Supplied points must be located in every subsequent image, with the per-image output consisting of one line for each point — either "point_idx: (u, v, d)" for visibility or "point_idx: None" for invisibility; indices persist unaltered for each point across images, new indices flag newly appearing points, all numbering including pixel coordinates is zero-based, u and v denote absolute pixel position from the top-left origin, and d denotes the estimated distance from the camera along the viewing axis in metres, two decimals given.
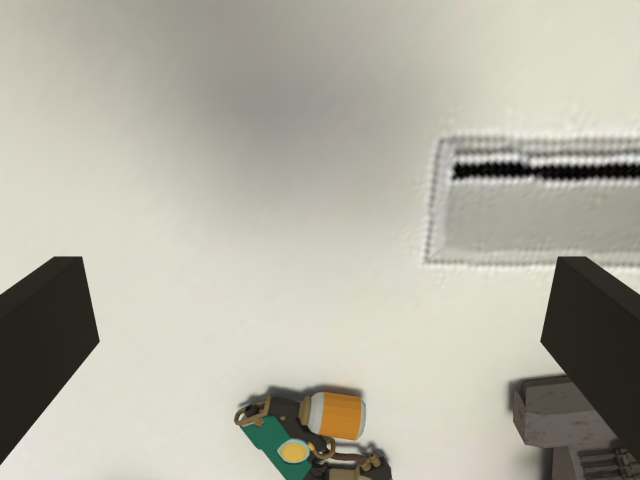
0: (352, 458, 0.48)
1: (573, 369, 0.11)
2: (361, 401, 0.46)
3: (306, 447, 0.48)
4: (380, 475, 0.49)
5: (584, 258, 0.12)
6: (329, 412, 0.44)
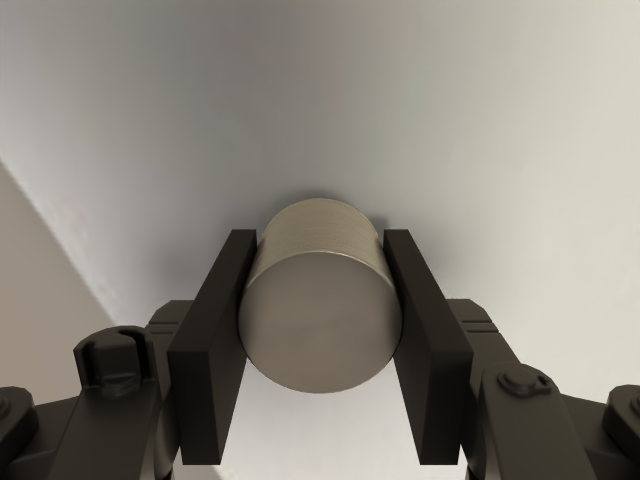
0: None
1: None
2: None
3: None
4: None
5: (404, 230, 0.14)
6: None
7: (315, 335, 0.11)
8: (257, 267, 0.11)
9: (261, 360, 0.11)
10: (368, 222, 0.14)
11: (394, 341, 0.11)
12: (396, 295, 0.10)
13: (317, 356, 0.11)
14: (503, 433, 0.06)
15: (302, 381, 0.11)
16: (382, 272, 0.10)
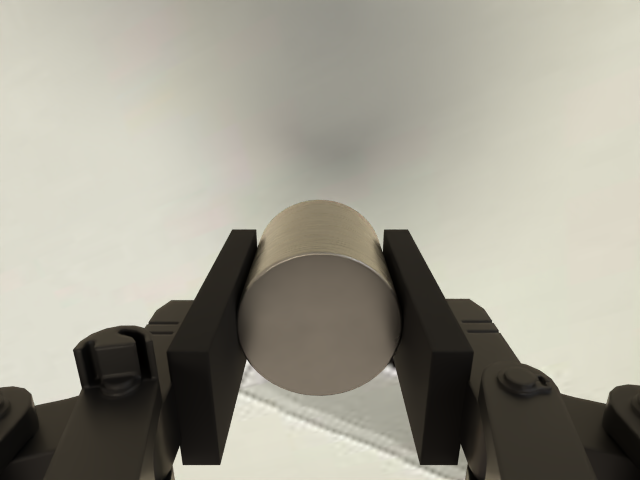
0: None
1: None
2: None
3: None
4: None
5: (405, 230, 0.14)
6: None
7: (314, 338, 0.11)
8: (256, 269, 0.11)
9: (260, 362, 0.11)
10: (367, 224, 0.14)
11: (393, 343, 0.11)
12: (395, 297, 0.10)
13: (316, 358, 0.11)
14: (503, 433, 0.06)
15: (301, 383, 0.11)
16: (381, 274, 0.10)
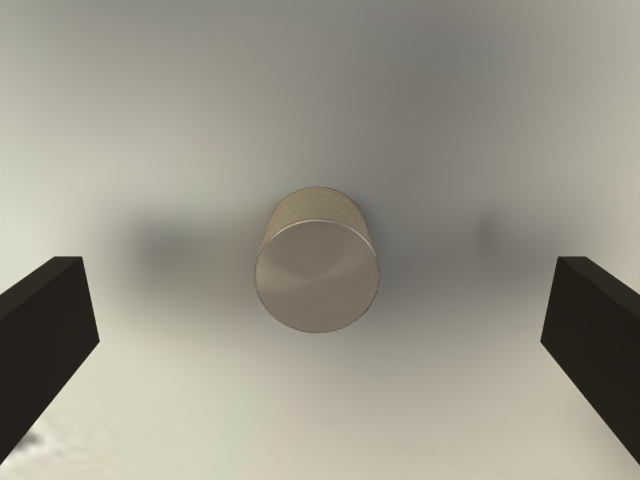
0: None
1: (573, 369, 0.11)
2: None
3: None
4: None
5: (584, 258, 0.12)
6: None
7: (313, 286, 0.14)
8: (270, 234, 0.14)
9: (272, 305, 0.15)
10: (355, 206, 0.17)
11: (373, 290, 0.15)
12: (373, 253, 0.14)
13: (315, 302, 0.15)
14: None
15: (304, 323, 0.15)
16: (363, 236, 0.14)
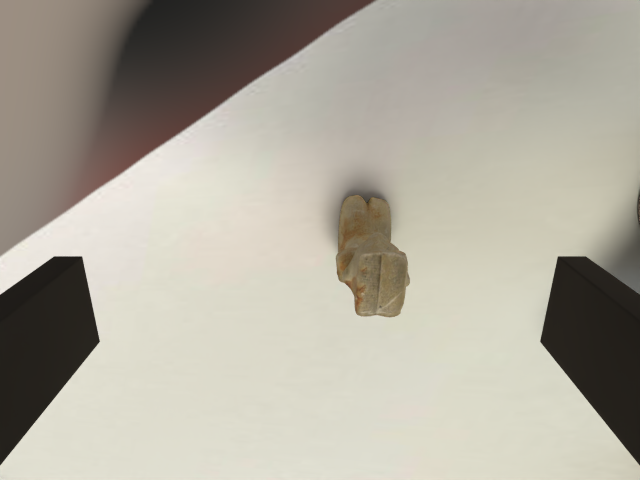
0: None
1: (573, 369, 0.11)
2: None
3: None
4: None
5: (584, 258, 0.12)
6: None
7: None
8: None
9: None
10: None
11: None
12: None
13: None
14: None
15: None
16: None
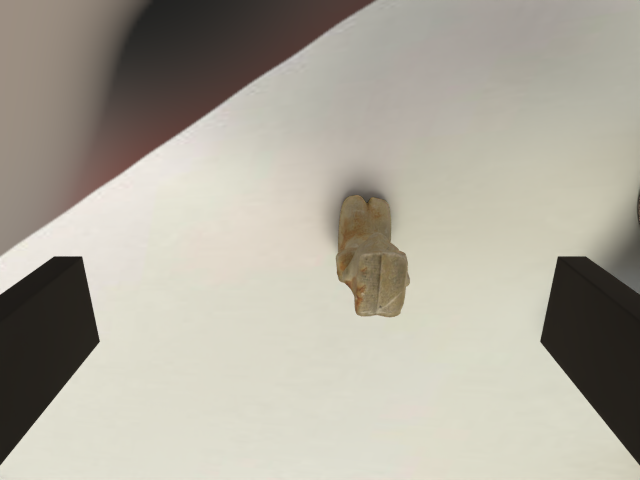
0: None
1: (573, 369, 0.11)
2: None
3: None
4: None
5: (584, 258, 0.12)
6: None
7: None
8: None
9: None
10: None
11: None
12: None
13: None
14: None
15: None
16: None
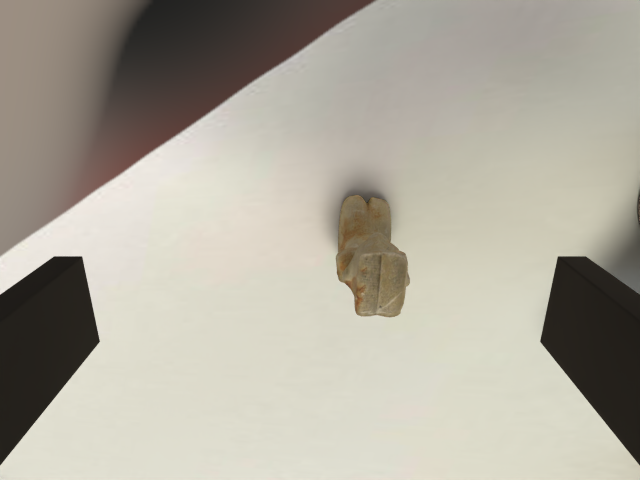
0: None
1: (573, 369, 0.11)
2: None
3: None
4: None
5: (584, 258, 0.12)
6: None
7: None
8: None
9: None
10: None
11: None
12: None
13: None
14: None
15: None
16: None
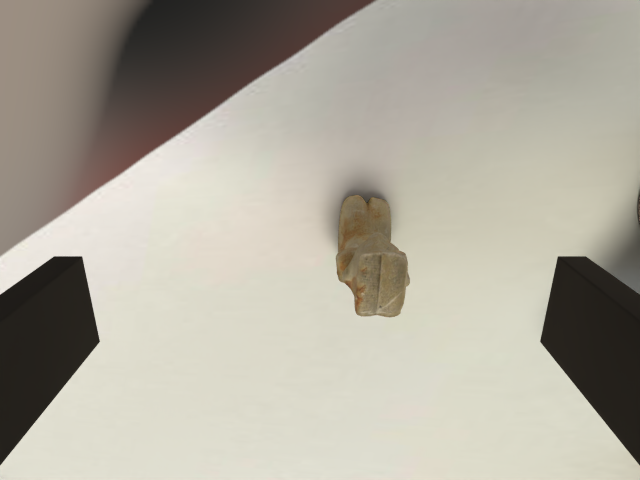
0: None
1: (573, 369, 0.11)
2: None
3: None
4: None
5: (584, 258, 0.12)
6: None
7: None
8: None
9: None
10: None
11: None
12: None
13: None
14: None
15: None
16: None
